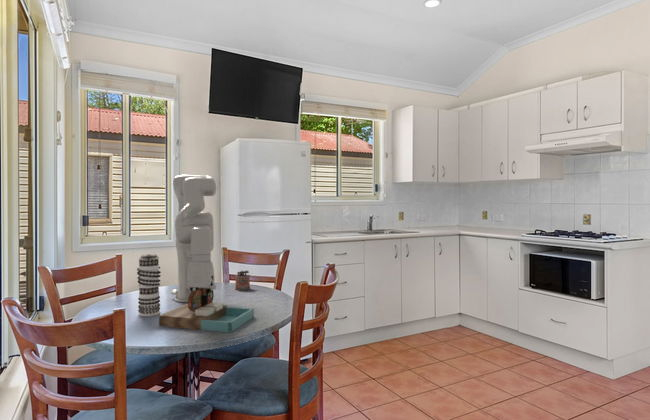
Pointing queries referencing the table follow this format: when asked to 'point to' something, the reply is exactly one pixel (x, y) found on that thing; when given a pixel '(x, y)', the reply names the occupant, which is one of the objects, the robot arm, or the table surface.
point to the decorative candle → (148, 285)
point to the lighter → (242, 280)
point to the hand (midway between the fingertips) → (201, 304)
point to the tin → (198, 299)
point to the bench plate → (187, 318)
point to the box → (229, 320)
